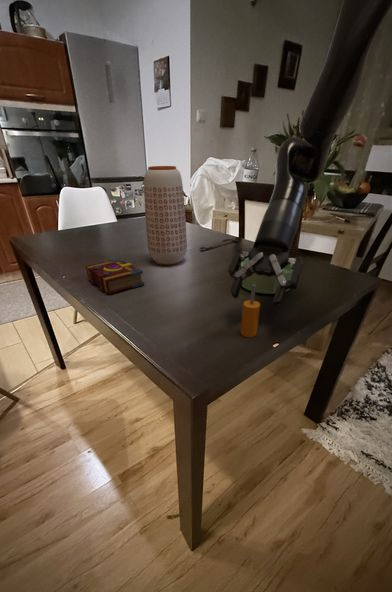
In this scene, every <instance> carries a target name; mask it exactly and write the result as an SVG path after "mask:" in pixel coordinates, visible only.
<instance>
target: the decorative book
mask: <svg viewBox="0 0 392 592" xmlns="http://www.w3.org/2000/svg"><path fill="white" fill-rule="evenodd" d="M85 269H86V275H87V278H88V280H89V281H90V282H91V284H92V285H96V286H98V288H99V289H100V291H101V292H103V293H106V294H108V295H111V294H114V293H118V292H121V291H125V290H128V289H134V288H138V287H141V286H144V285H145V281H142V274H144V271H143V270H142V269H141V268H138V267H135V266H133V264H132V263H130V262H126V261H125V260H124V259H122V258H120V257H117V258H113V259H108V260H107V261H102V262H98V263H94V264H89V265H85Z"/></svg>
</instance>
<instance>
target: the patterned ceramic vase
mask: <svg viewBox="0 0 392 592" xmlns="http://www.w3.org/2000/svg"><path fill="white" fill-rule="evenodd" d="M143 177H144V178H143V186H144V187H143V197H144V198H143V199H144V215H145V229H146V241H147V250H148V253H149V256H150V257H151V258H152V260H153V261H154V262H155V263H156V264H157V265H160V266H168V267H169V266H175V265H178V264H180V263H181V262H182V260H184V258H185V256H186V254H187V251H188V241H187V240H188V239H187V221H186V220H187V219H186V208H185V206H186V205H185V196H184V195H185V194H184V185H183V179H182V175H181V172H180V170H179V169H178V168H177V166H175V165H152V166H148V167H147V170H145V173H144V176H143Z"/></svg>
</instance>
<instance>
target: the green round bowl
mask: <svg viewBox="0 0 392 592" xmlns="http://www.w3.org/2000/svg"><path fill="white" fill-rule="evenodd" d="M247 262H249V258H246V259H245V260H244V262H241V265H240V267H239V270H240V269H242V268H243V266H244V265H245V264H246V263H247ZM251 268H252V267H251ZM251 268H250V269H251ZM292 272H293V270H292V269H291V265H290V264H288V265H287V266H286V267H284V268H283V269H282V273H283V275H284V278H285V280H286V281H287V280H291V276H292ZM252 285H256V288H255V293H259V294H267V295H275V293H276V290H277V287H278V286H279V283H278V282H277V279H276V277H275V275H274V276H271V277H268V276H265V275H257V274H256V273H254V274H253V275H251V276H250V277H247V278H246V279H244V280H243V281H242V286H241V288H244V289H245V290H247V291H250V292H251V291H252ZM289 290H290V289H287V290H286V291H285V293H286V292H288V291H289Z"/></svg>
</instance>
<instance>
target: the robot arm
mask: <svg viewBox="0 0 392 592" xmlns="http://www.w3.org/2000/svg"><path fill="white" fill-rule="evenodd" d="M391 9H392V0H343V1H342V4H341V7H340V10H339V11H340V12H339V14H338V17H337V21H336V24H335V28H334V31H333V35H332V37H331V41H330V44H329V47H328V51H327V54H326V57H325V60H324V62H323V65H322V68H321V71H320V73H319V75H318V79H317V80H316V83H315V85H314V87H313V90H312V92H311V95H310V97H309V99H308V102H307V104H306V107H305V109H304V112H303V113H302V116H301V119H300V122H299V127H298V129H299V133H300V136H301V137H302V138H300V137H297V136H290V137H288V138H286V140H284V141H283V142H282V143H281V145H280V147H279V148H278V151H277V153H276V158H275V167H274V168H275V169H274V170H275V171H274V173H275V177H274V178H275V179H274V187H273V191H272V193H271V197H270V200H269V202H268V205H267V208H266V210H265V212H264V214H263V217H262V218H261V222H260V225H259V228H258V232H257V234H256V236H255V240H254V242H253V247H252V248H251V250H250V251H247V250H243V248H241V247H237V248H236V250H235V252H234V255H233V257H232V260H231V262H230V264H229V267H228V269H227V272H228V274H229V276H230V278H232V279H233V282H232V285H231V287H230V293H231V296H232V297H233V299H238V298H239V294H240V291H241V288H242V281H243V280H244V279H246V278H247V277H250V276H251V275H253V274H254V273H256V274H257V275H265V276H268V277H271V276H274V275H275V277H276V279H277V282H278V283H279V286H278V287H277V290H276V293H275V294H274V296H273V298H272V303H271V304H272V307H274V308H277V307H278V306H279V305H281V304H282V302H283V299H284V297H285V293H286V292H287V291H286V290H287V289H289V290H296V289H297V288H298V283H299V279H300V276H301V272H302V267H303V257H302V256H301V255H298V256H296V257H289V256H290V252H291V250H292V247H293V243H294V240H295V237H296V235H297V233H298V228H299V225H300V221H301V215H302V212H303V208H304V206H305V203H306V200H307V197H308V186H307V185H310V184H314V183H315V182H317V181H318V180H319V179H320V178H321V177H322V175H323V173H324V171H325V169H326V166H327V162H328V158H329V154H330V151H331V150H330V149H331V147H332V143H333V141H334V138H335V137H336V135H337V132H338V130H339V129H340V126H341V125H342V123H343V121H344V119H345V118H346V116H347V114H348V113H349V111H350V109H351V107H352V105H353V103H354V101H355V99H356V97H357V95H358V93H359V91H360V88H361V85H362V82H363V78H364V75H365V74H364V73H365V69H366V64H367V60H368V56H369V52H370V50H371V47H372V45H373V42H374V40H375V38H376V36H377V33H378V31H379V30H380V28H381V26H382V24H383V22H384V20H385V18H386V17H387V15H388V13H389V12H390V10H391ZM306 184H307V185H306ZM247 258H249V262H247V263H246V264H245V265H244V266H243V268H242V269H240V267H241V262H244V260H245V259H247ZM288 264H290V265H291V269H292V270H293V272H292V276H291V280H287V281H286V280H285V278H284V275H283V273H282V269H283V268H284V267H286V266H287V265H288ZM251 267H252V268H251ZM250 268H251V269H250ZM285 291H286V292H285Z"/></svg>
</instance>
